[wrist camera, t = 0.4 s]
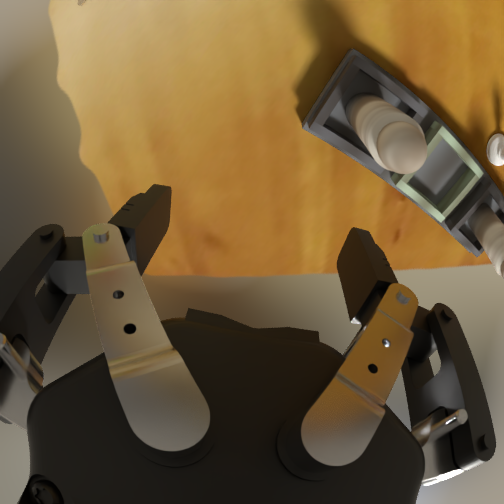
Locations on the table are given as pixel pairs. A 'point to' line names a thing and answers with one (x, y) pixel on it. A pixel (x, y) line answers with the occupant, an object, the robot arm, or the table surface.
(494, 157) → the chess piece
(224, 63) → the table surface
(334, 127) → the grey peg holder
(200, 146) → the table surface
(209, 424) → the robot arm
